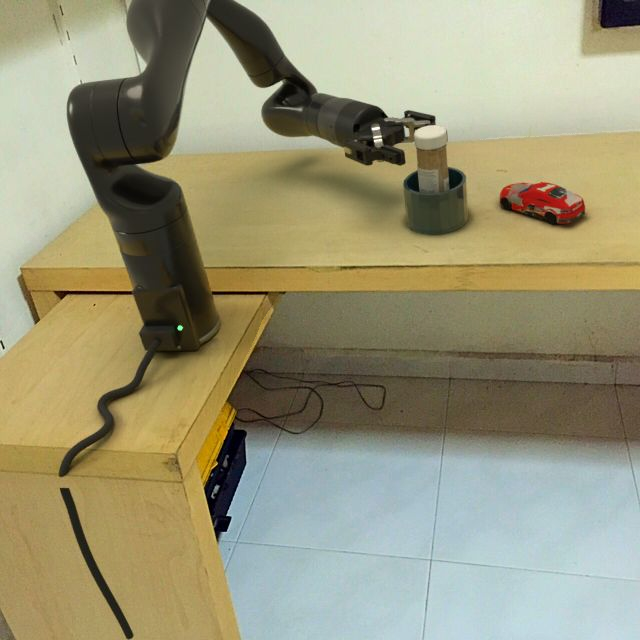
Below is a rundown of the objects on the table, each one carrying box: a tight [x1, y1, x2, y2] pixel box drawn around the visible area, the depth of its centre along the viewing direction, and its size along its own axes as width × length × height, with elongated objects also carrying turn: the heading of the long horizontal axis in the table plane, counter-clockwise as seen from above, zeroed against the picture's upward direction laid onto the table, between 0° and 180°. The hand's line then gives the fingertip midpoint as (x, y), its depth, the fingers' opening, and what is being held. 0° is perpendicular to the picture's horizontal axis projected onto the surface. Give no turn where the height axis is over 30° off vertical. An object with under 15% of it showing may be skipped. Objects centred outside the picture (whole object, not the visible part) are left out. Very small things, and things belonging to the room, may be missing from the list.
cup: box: [402, 166, 469, 236], centre depth 111 cm, size 9×9×6 cm
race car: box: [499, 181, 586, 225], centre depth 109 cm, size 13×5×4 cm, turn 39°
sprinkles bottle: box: [413, 125, 450, 193], centre depth 108 cm, size 5×5×14 cm
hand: (425, 147), depth 107 cm, fingers open, 8 cm apart
